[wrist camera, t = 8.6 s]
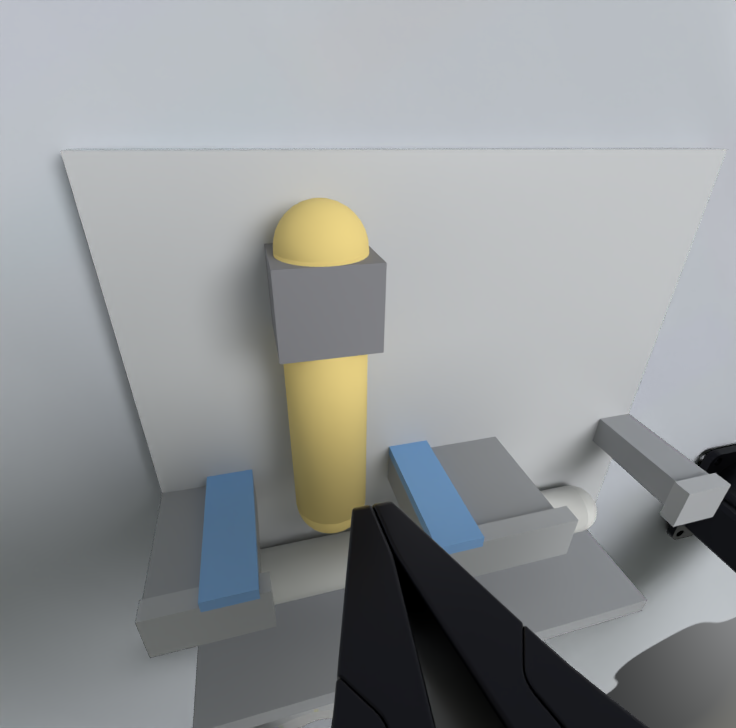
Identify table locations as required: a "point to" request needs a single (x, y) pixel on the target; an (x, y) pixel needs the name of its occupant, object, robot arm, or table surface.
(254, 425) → the pipe mounting panel
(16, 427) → the table surface
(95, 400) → the table surface
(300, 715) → the network device
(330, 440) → the yellow capsule with collar
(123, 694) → the table surface
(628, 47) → the table surface
